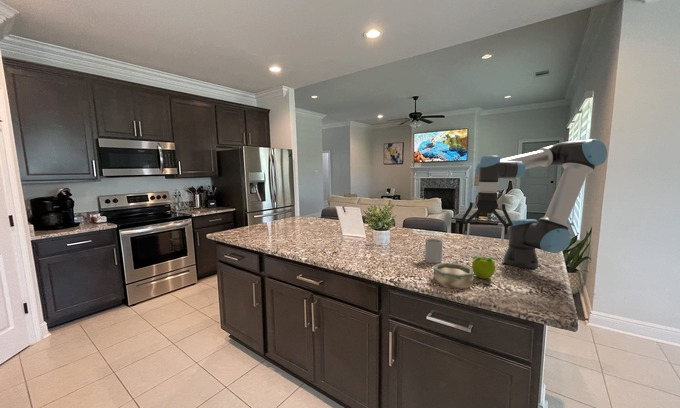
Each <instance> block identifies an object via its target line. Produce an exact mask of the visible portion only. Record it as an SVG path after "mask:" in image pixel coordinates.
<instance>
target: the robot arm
mask: <svg viewBox="0 0 680 408" xmlns="http://www.w3.org/2000/svg"><path fill="white" fill-rule="evenodd" d="M607 158H608V149H607V146H606V144H605V143H604V141H602V140H600V139H597V138H593V139H592V138H587V139H581V140H572V141H569V140H568V141H563V142H558V143H555V144H551V145H549V146H545V147H541V148H539V149H537V150H536V151H535V150H534V151H531V152H527V153H522V154H517V155H513V156H508V157H504V158H501V157H500V156H499V155H484V156H481V158H480V159H479V160H480V161H479V163H478V164H477V165H476V167H475V172H476V173H475V174H476V175H477V176H479V177H478V187H477V188H478V189H477V191H478V193H477V202H472V201H470V202H469V206H468V208H467V209H466V211H465V213H464V214H463V216H462V218H461V219H460V222H461V223H462V224H464V232H466V239H467V240H468V239H469V238H470V237H469V236H470V224H471V223H470V222H471V221H473V219H474V218H476V217H477V216H478V215H479V214H480V213H481V214H489V215H490V214H493V215H494V216H495V217H496V218H497V219H498V220H499V222H500V223H501V224H502V226H501V235H500V236H501V238H500V242H501V243H504V240H505V235H508V246H507V249H506V252H505V254H504V256H503V262H504V263H505V264H507V265H509V266H513V267H518V268H522V269H524V268H525V269H534V268H539V259H538V256H537V253H536V252H537V251H536V249H538V250H540V251H544V252H545V253H552V254H559V253H561V252H563V251H564V250H566V249H567V248H568V247H569V245H570V244H571V242H572V236H571V235H572V234H571V232H570V231H569V228H570V227H569V225H568V224H567V223H568V221H569V218H570V216H571V214H572V211H573V209H574V206H575V204H576V203H577V199H578V197H579V195H580V192H581V189H582V187H583V185H584V184H585V183H584V182H585V181H586V178H587V177H588V175H589V174H591V173H593V172H594V170H595V168H596V167H598V166H601V165H603V164H604V163H605V162H606V160H607ZM552 166H554V167H555V166H556V167H557V166H560V167H561V166H562V168H563V172H562V174H561V177H560V179H559V181H558V183H557V187H556V189H555V190H554V193H553V196H552V198H551V200H550V202H549V205H548V208H547V210H546V211H545V214H544V216H542V217H540V218H539V219H538V220H537V219H535V218H534V219H531V218H529V219H527V218H526V219H525V218H524V219H521V218H520V219H518V218H517V219H516V218H515V219H511V217H510V216H509V213H508V211H507V210H506V204H505V203H500V204H499V203H498V191H499V181H500V179H519V178H522V177H524V175H525V173H526V170H527V169H533V168H537V167H544V168H545V167H552ZM475 206H476V207H477V210H476V211H475V212H473V213H472V214H471V215H470V216H469V217H468V215H469V214H470V212H471V211H472V209H473V208H475ZM498 208H499V209H500V210H502V213H503V215H504V217H505V218H506V221H507V222H506V221H505V219H503V217H502V216H501V215H500V214H499V213H498V212H497V211H496V209H498ZM467 217H468V218H467ZM466 218H467V219H466ZM508 228H509V229H508ZM508 232H509V234H508Z"/></svg>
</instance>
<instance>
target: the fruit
mask: <svg viewBox="0 0 680 408" xmlns="http://www.w3.org/2000/svg"><path fill="white" fill-rule="evenodd" d="M472 259H473V261H472V264H471V268H472V269H473V275H475V276H476V277H478V278H480V279H485V280H486V279H490V278H491V277H492V276H493V275H494V274H495V270H496V264H495V260H496V258H494V257H493V256H492V257H491V256H489V257H485V256H472ZM496 261H497V260H496Z"/></svg>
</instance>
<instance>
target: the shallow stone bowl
mask: <svg viewBox="0 0 680 408" xmlns="http://www.w3.org/2000/svg"><path fill="white" fill-rule="evenodd" d="M434 264H435V265H434V267H433V279H432V280H433V281H434V282H435V283H436V284H437V285H440V286H442V287H446V288H450V289H458V290H459V289H469V288H471V287H473V285H474V272H473V269H472V267H468V266H467V265H464V264H460V263H454V262H453V263H451V262H441V263H434Z"/></svg>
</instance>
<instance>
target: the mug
mask: <svg viewBox="0 0 680 408" xmlns="http://www.w3.org/2000/svg"><path fill="white" fill-rule="evenodd" d="M424 246H425V247H424V249H425V250H424V251H425V252H424V261H425V262H426V263H429V264H441V263H443V260H442V259H443V240H440V239H436V238H428V239H426V240H425V245H424Z"/></svg>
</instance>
